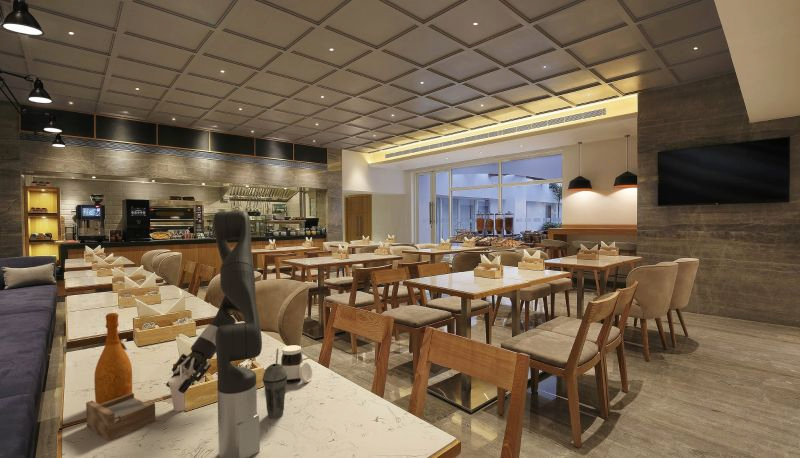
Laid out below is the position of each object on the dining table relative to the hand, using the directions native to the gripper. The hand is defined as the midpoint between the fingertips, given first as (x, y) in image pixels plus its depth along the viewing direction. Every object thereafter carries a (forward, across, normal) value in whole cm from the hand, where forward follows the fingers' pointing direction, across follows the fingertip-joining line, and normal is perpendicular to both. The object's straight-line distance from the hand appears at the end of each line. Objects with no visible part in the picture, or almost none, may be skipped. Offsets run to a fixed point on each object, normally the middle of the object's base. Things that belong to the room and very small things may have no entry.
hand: (174, 389), depth 122 cm
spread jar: (-21, +15, +31) cm, 40 cm away
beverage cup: (-5, +29, +15) cm, 33 cm away
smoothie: (+4, 0, +6) cm, 7 cm away
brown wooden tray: (+14, -6, -4) cm, 15 cm away
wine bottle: (+11, -21, -1) cm, 24 cm away
